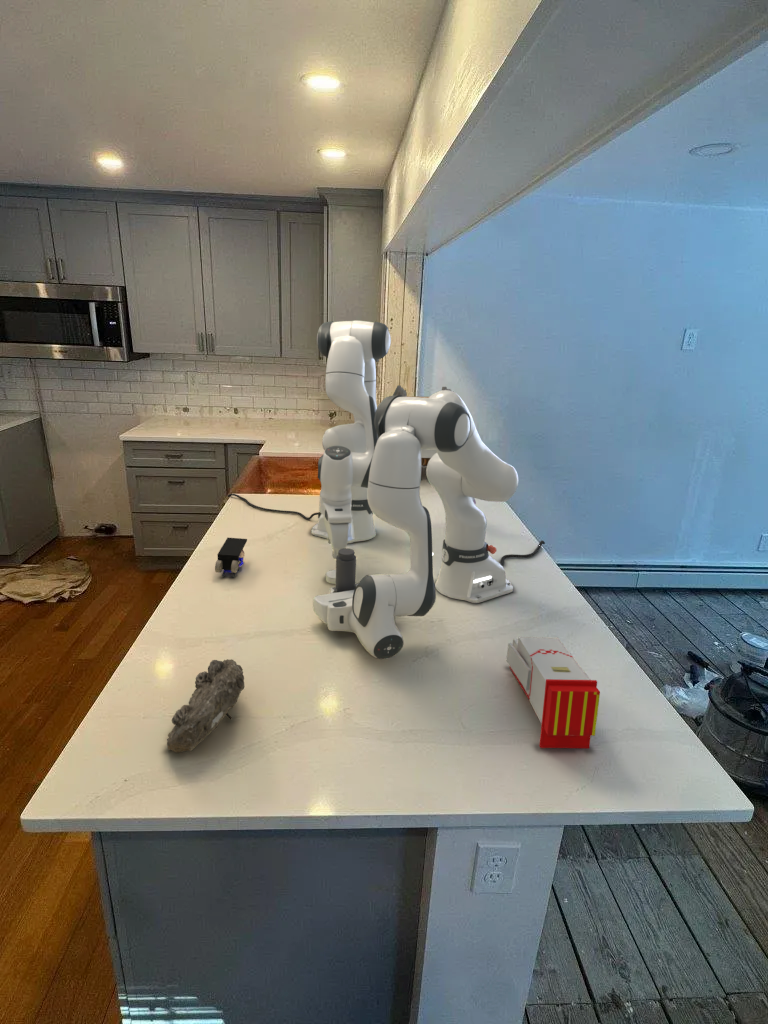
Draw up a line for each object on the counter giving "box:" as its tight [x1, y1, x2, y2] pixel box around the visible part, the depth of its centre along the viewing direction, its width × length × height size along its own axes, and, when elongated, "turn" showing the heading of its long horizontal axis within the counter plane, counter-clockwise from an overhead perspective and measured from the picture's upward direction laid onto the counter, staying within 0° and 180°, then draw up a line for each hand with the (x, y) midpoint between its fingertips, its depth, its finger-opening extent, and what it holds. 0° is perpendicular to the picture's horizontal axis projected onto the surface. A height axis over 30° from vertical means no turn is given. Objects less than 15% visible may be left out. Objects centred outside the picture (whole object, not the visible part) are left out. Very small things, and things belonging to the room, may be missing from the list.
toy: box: [505, 636, 601, 749], centre depth 115 cm, size 12×13×30 cm
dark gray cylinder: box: [335, 547, 357, 592], centre depth 147 cm, size 5×5×16 cm
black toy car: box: [214, 537, 248, 578], centre depth 166 cm, size 7×8×15 cm
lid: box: [325, 569, 336, 585], centre depth 164 cm, size 6×6×2 cm
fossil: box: [166, 658, 245, 754], centre depth 106 cm, size 22×10×15 cm
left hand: (333, 549), depth 162 cm, fingers open, 8 cm apart
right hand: (344, 587), depth 148 cm, fingers closed on dark gray cylinder, 5 cm apart
